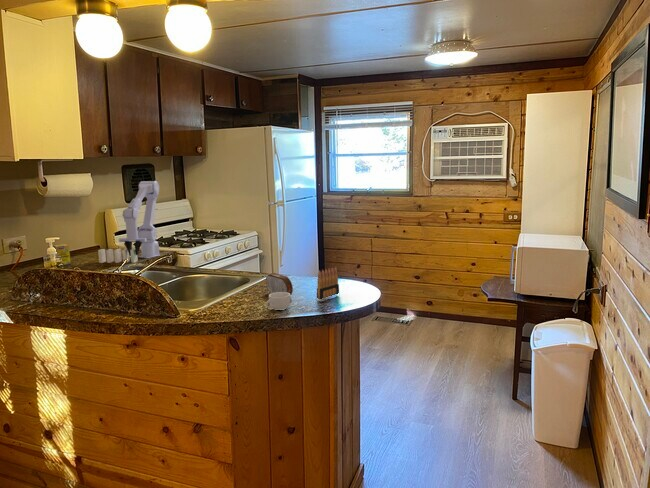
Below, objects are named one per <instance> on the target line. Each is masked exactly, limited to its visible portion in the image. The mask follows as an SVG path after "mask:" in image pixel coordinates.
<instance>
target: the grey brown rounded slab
mask: <svg viewBox="0 0 650 488" xmlns="http://www.w3.org/2000/svg"><path fill="white" fill-rule="evenodd" d="M265 286H266V289H267V291H268V292H269V291H271V292H275V293H276V292H287V293H290V295H291V296H292V294H293V292H294V291H293V290H294V289H293V284H292V281H291V280H290V278H289V277H288V276H286V275H284V274H280V273H276V272H272V273H270V274H267V276H266V277H265Z"/></svg>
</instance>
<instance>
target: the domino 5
mask: <svg viewBox="0 0 650 488" xmlns="http://www.w3.org/2000/svg"><path fill="white" fill-rule="evenodd" d="M130 252H131V255H130V262H131V263H137V262H138V260H139V259H138V258H139V257H138V255H136V253H135V248H132V250H130Z"/></svg>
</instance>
